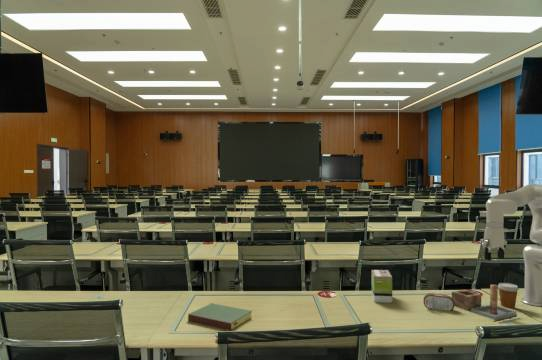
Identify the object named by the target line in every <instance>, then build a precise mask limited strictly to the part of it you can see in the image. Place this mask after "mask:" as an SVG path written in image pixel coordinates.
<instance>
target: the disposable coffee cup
mask: <svg viewBox="0 0 542 360" xmlns="http://www.w3.org/2000/svg"><path fill="white" fill-rule="evenodd" d="M497 286H498V293H499V301H500V307H502V308H506V309H509V308H510V309H514V310H515V309H516V302H517V295H518V291H519V287H518V285H517V284H513V283H509V282H500V283H498V285H497Z"/></svg>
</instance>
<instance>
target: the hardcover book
mask: <svg viewBox="0 0 542 360" xmlns="http://www.w3.org/2000/svg"><path fill="white" fill-rule="evenodd" d="M252 312H253V310H249V309H245V308H239V307H233V306H228V305H224V304H223V305H222V304H218V303H209V304H206V305H205V306H202V307H200V308H198V309H196V310H194V311H192V312H190V313H188V314H187V321H188V322H191V323H195V324H196V323H197V324H198V325H199V324H201V325H205V326H209V327H214V328H218V329H223V330H226V329H229V330H228V331H232V330H234V329H235V328H237V327H238V326H240V325H241V323H242V324H243V323H245V322H246V321H248V320H249V319H252ZM231 329H232V330H231Z"/></svg>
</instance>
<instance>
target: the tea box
mask: <svg viewBox="0 0 542 360" xmlns="http://www.w3.org/2000/svg"><path fill="white" fill-rule="evenodd" d="M371 297H372V299H373V302H374V303H387V304H389V303H393V276H392V274H391V272H390V271H389V269H371Z"/></svg>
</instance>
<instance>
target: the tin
mask: <svg viewBox="0 0 542 360" xmlns="http://www.w3.org/2000/svg"><path fill="white" fill-rule="evenodd" d="M423 305H424V307H425V308H426V309H428V310H430V311H433V310H442V311H448V312H449V311H450V312H452V311H453V310H454V309H455V307H456V306H455V302H454V300H453V298H452V296H451V295H447V294H441V293H440V294H439V293H434V292H431V293H426V294H425V295H424V297H423Z"/></svg>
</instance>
